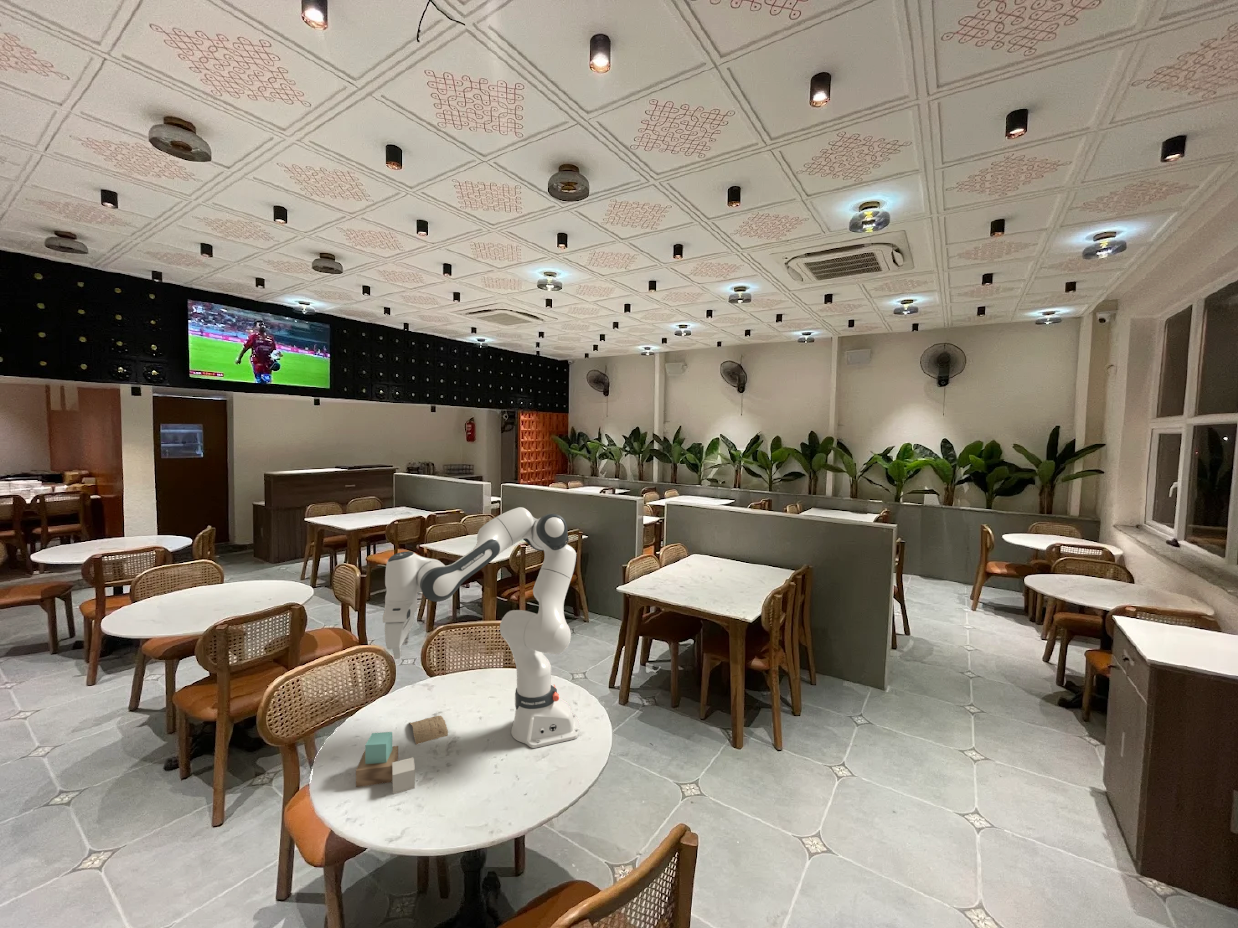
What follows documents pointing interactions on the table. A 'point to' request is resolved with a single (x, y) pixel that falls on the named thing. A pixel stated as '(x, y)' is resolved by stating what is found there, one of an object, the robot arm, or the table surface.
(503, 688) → the table surface
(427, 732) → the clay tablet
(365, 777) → the walnut base
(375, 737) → the teal cube
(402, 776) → the grey cube
